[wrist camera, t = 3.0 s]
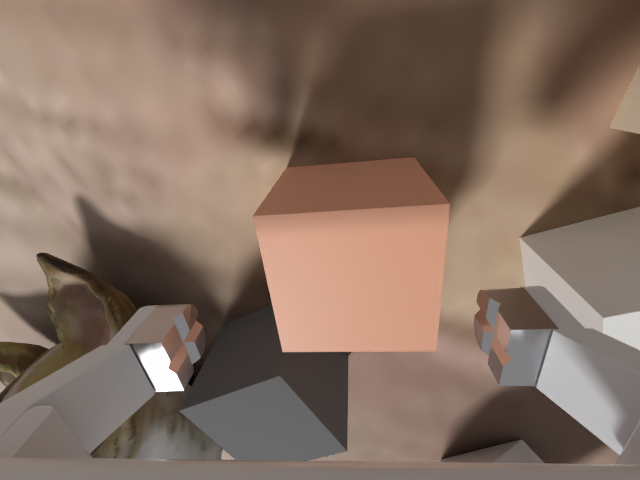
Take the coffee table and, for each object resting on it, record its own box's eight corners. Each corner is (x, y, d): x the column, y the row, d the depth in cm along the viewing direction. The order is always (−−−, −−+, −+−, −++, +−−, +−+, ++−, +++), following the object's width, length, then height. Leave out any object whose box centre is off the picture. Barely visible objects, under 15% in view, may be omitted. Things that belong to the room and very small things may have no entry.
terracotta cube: (413, 156, 12) (450, 203, 8) (409, 266, 14) (436, 351, 10) (286, 167, 13) (252, 216, 8) (302, 270, 15) (282, 352, 10)
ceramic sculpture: (101, 633, 15) (-229, 467, 11) (189, 451, 23) (10, 316, 19) (250, 606, 12) (-167, 345, 8) (295, 400, 19) (99, 219, 16)
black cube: (300, 290, 15) (279, 375, 11) (348, 355, 17) (347, 451, 13) (223, 324, 17) (179, 410, 13) (275, 380, 19) (251, 473, 14)
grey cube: (660, 200, 12) (841, 273, 8) (649, 299, 14) (786, 402, 10) (518, 236, 13) (603, 317, 9) (528, 323, 15) (600, 424, 11)
